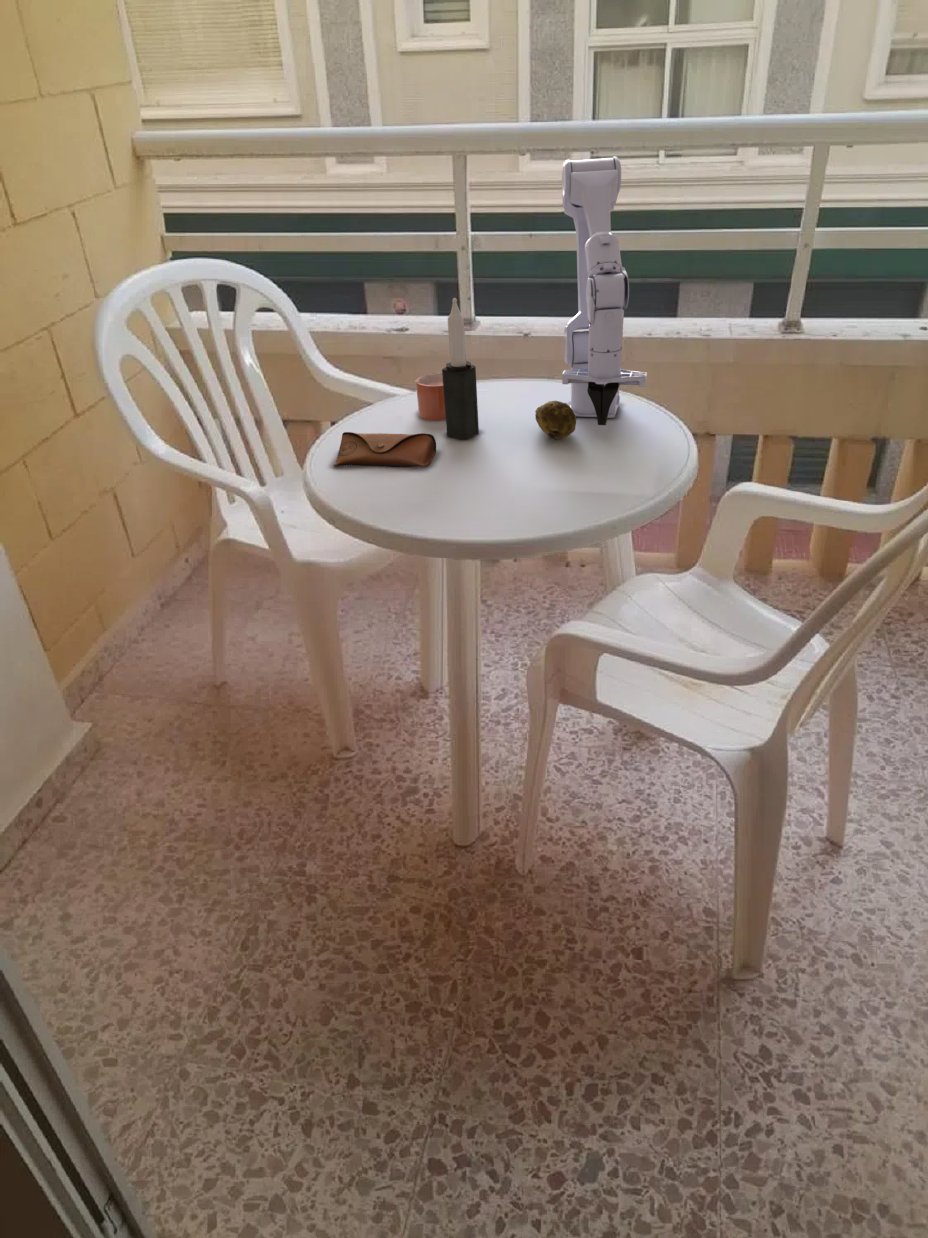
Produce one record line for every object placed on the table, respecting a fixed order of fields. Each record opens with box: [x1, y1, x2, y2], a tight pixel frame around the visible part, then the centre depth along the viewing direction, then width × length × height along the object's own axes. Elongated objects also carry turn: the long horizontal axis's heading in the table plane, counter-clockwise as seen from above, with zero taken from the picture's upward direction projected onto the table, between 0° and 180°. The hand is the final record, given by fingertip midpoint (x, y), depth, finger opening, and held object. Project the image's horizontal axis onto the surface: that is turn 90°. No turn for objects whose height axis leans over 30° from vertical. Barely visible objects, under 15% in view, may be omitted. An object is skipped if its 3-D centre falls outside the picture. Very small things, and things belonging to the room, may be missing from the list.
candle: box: [441, 297, 480, 441], centre depth 151 cm, size 5×5×25 cm
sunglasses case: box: [333, 431, 437, 468], centre depth 149 cm, size 18×7×7 cm
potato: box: [535, 400, 577, 440], centre depth 151 cm, size 8×13×8 cm, turn 166°
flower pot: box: [415, 372, 446, 421], centre depth 166 cm, size 8×8×7 cm
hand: (602, 423), depth 149 cm, fingers closed
